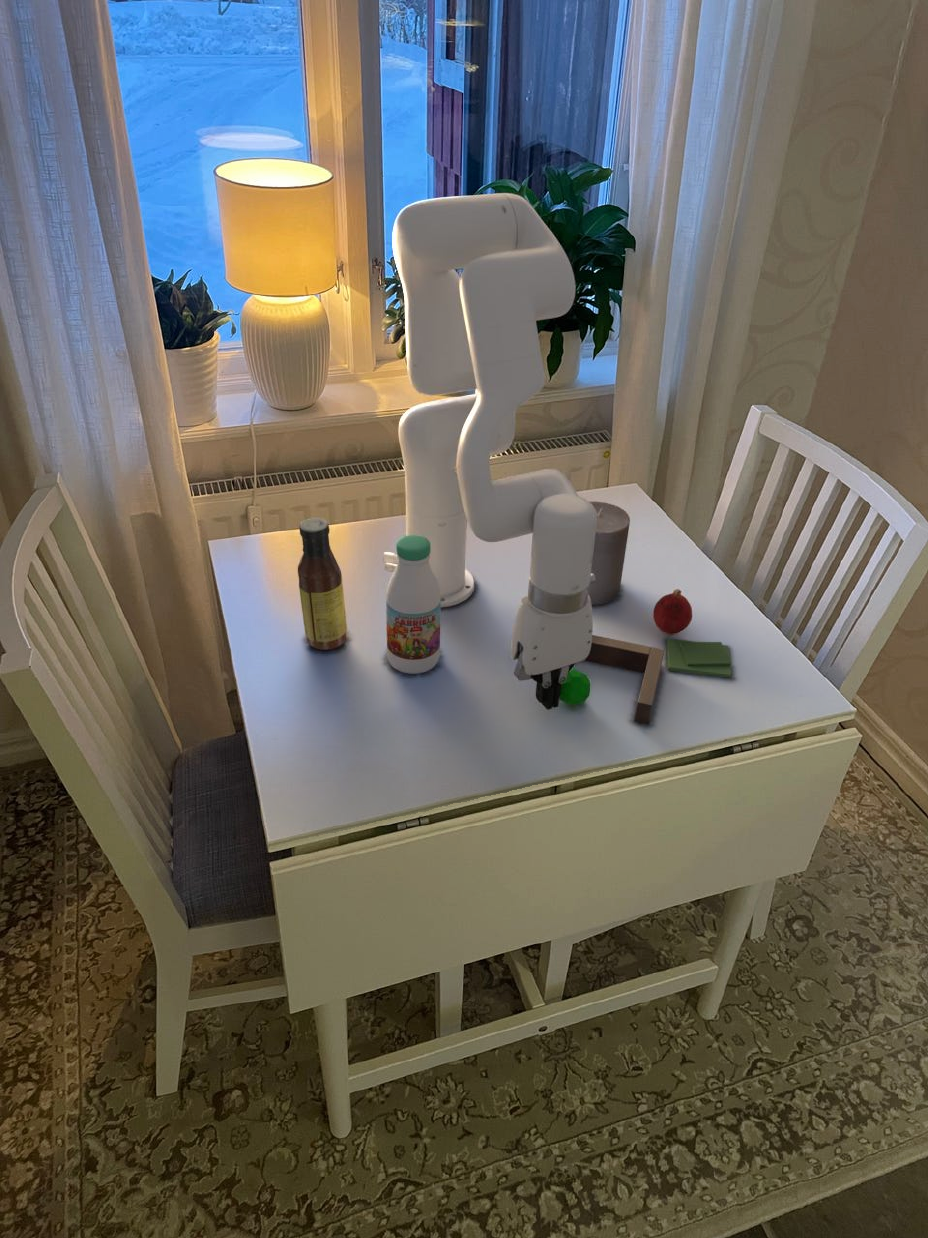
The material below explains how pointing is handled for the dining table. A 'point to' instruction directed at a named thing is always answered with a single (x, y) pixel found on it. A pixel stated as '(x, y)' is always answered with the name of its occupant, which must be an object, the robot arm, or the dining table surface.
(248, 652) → the dining table surface
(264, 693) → the dining table surface
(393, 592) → the milk bottle
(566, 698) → the polyhedron
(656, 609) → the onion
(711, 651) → the green rag
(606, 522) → the pillar candle
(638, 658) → the corner stop
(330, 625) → the sauce bottle
